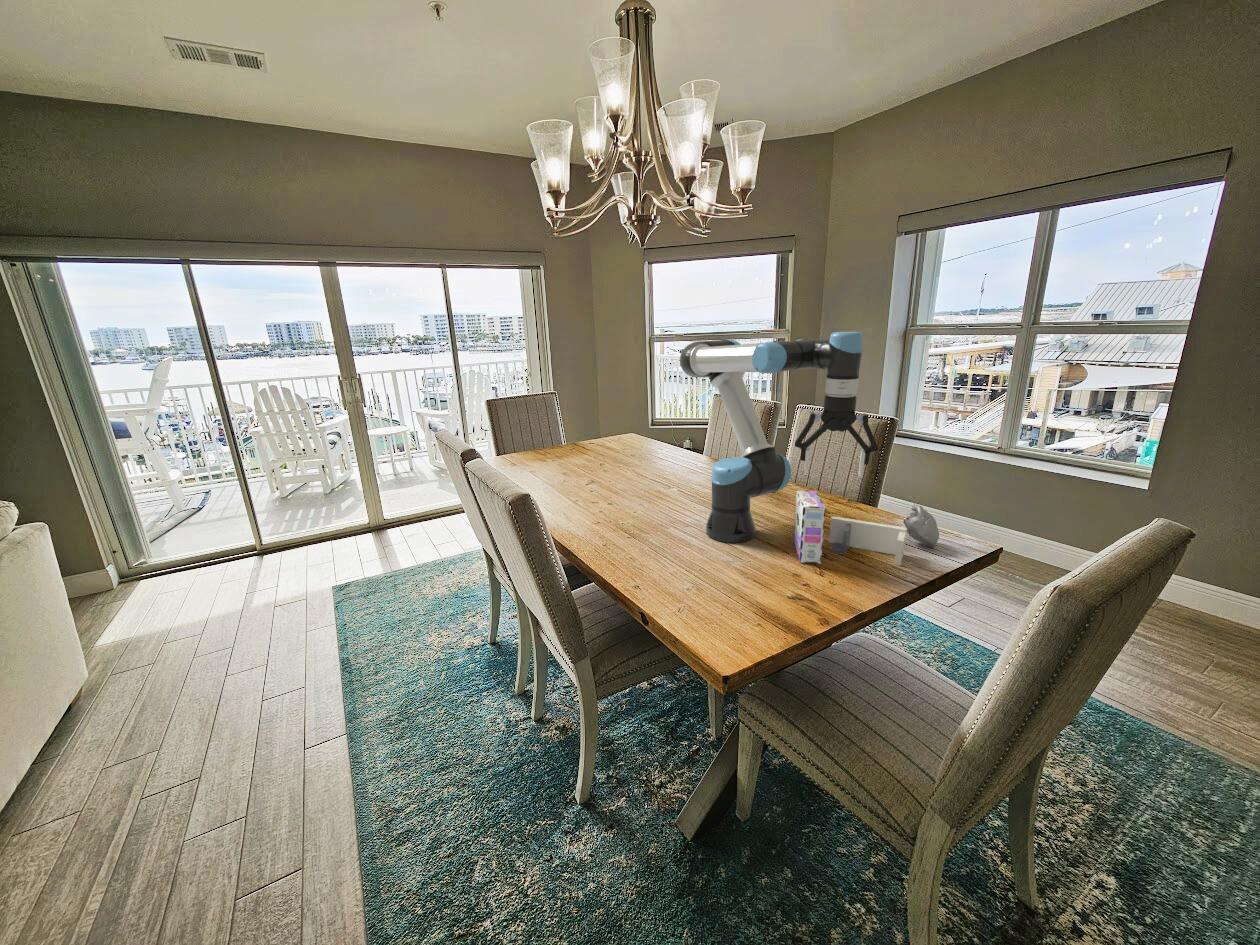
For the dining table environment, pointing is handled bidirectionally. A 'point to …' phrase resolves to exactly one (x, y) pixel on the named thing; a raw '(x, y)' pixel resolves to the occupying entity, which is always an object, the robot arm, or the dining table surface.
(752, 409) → the robot arm
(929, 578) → the dining table surface
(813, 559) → the candy box
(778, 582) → the dining table surface
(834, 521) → the shelf
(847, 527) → the bookend
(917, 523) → the heart
